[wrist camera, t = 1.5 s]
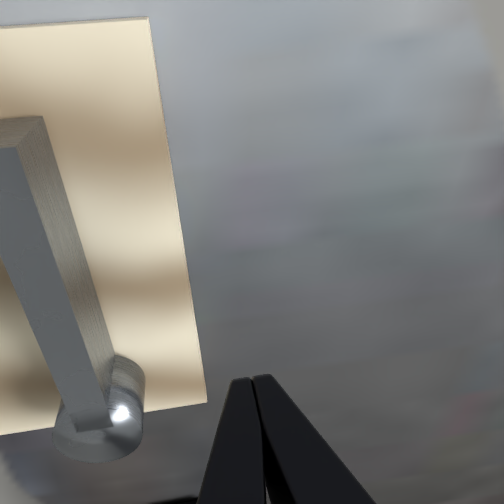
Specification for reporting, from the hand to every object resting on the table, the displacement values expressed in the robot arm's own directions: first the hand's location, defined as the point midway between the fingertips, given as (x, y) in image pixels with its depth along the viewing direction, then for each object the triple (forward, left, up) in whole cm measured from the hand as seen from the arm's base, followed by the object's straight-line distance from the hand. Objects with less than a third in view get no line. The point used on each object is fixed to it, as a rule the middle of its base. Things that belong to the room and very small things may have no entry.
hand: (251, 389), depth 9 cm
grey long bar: (-4, +6, -9) cm, 12 cm away
